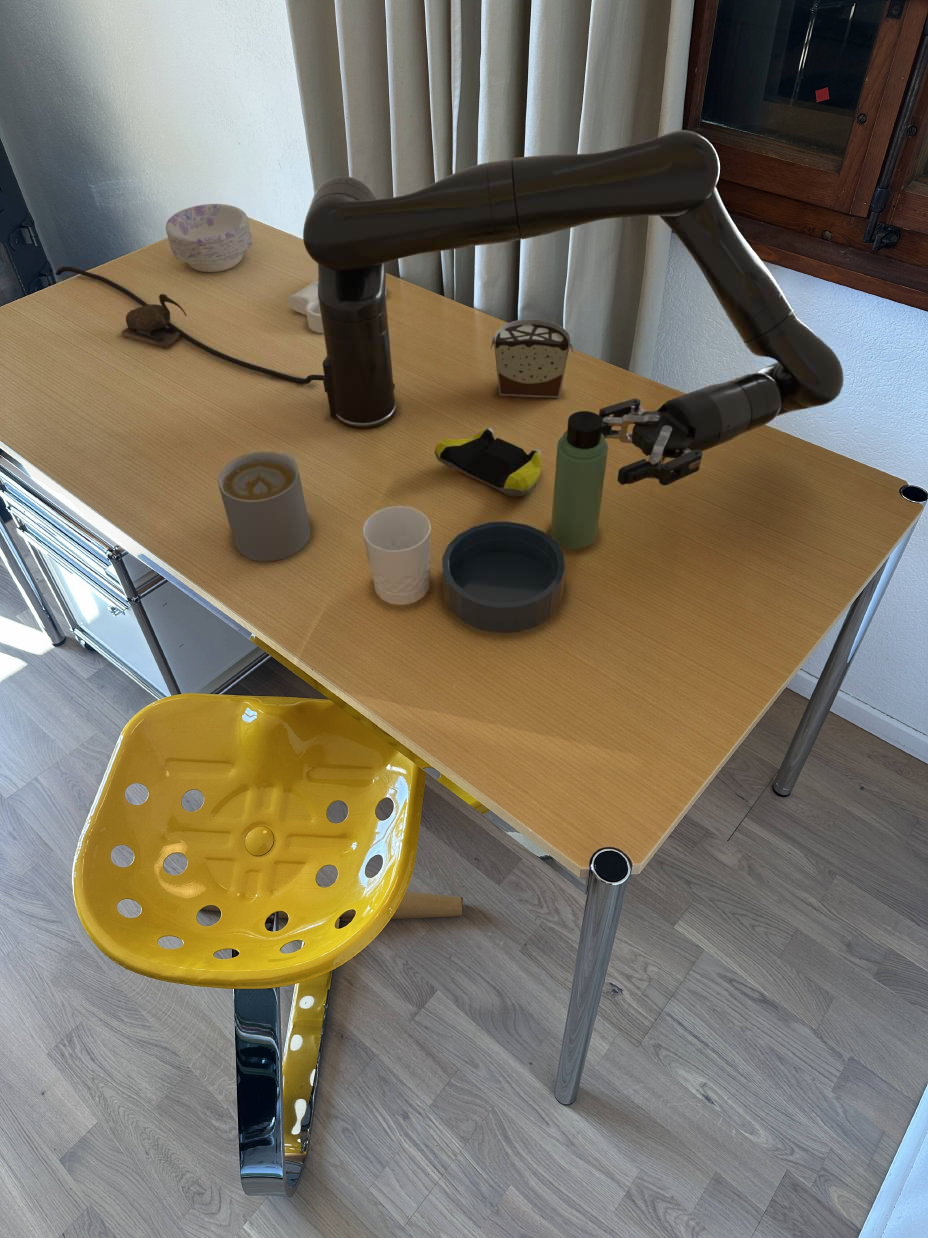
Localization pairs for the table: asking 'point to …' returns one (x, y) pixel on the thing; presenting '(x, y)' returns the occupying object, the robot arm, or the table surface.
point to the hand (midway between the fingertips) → (599, 458)
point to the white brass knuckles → (309, 305)
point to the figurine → (152, 324)
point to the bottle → (579, 481)
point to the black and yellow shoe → (492, 462)
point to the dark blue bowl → (503, 576)
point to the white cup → (399, 553)
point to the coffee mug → (265, 505)
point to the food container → (531, 358)
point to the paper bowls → (209, 236)
